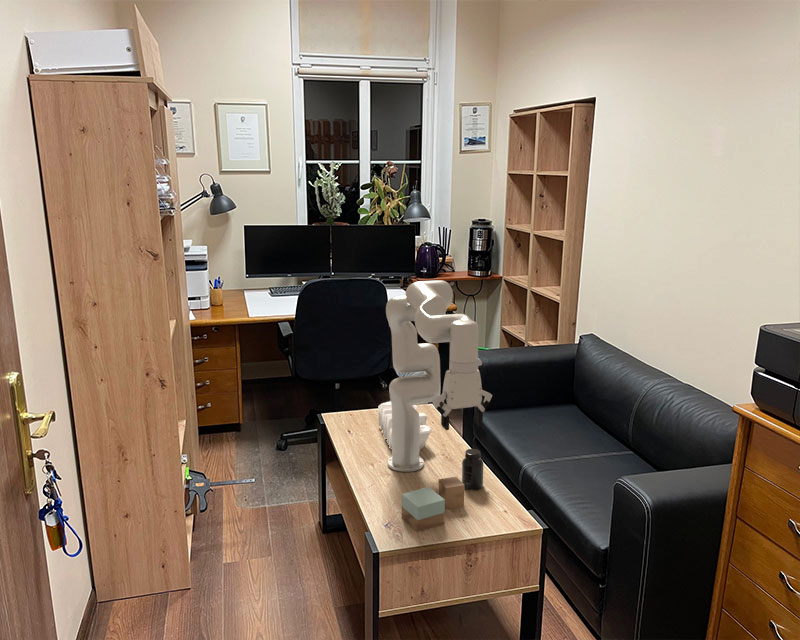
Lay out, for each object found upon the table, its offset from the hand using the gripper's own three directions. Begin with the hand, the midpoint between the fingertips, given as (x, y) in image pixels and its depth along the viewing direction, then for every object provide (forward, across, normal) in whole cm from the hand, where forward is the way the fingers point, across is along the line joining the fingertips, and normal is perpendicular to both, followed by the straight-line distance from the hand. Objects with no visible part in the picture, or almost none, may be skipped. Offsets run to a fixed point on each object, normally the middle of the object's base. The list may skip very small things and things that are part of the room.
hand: (461, 426), depth 178 cm
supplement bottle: (+31, -15, -23) cm, 42 cm away
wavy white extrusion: (+32, -8, -69) cm, 77 cm away
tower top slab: (+28, +8, -8) cm, 30 cm away
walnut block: (+31, -4, -15) cm, 35 cm away
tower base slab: (+32, +8, -8) cm, 34 cm away
